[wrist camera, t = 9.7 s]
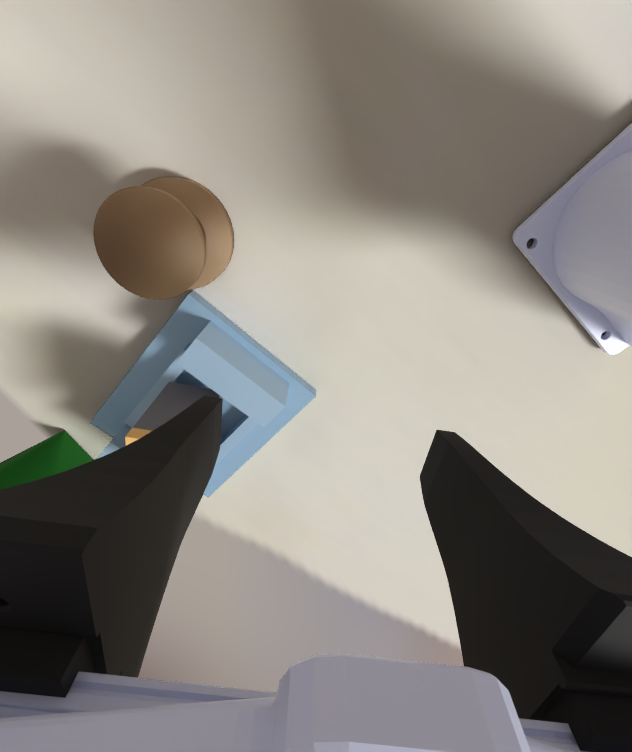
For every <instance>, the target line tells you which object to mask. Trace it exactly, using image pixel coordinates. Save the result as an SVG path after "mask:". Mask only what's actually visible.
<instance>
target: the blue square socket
mask: <svg viewBox="0 0 632 752" xmlns="http://www.w3.org/2000/svg"><path fill="white" fill-rule="evenodd" d="M168 382H174V383H180V384H186V385H192V386H198V387H204V388H210V389H212V390H213V391H214V392H216V393H217V394H219V395H220V396H221V397H222V398H223V404H222V422H221V440H220V450H219V454H218V457H217V460H216V464H215V467H214V470H213V473H212V476H211V478H210V480H209V482H208V485H207V487H206V489H205V491H204V493H203V494H204V495H205V496H207V497H209V496H210V495H211V494H213V493H214V492H215V491H216V490H217V489H218V488H219V487H220V486H221V485H222V484H223V483H224V482H225V481H226V480H227V479H228V478H230V477H231V476H232V475H233V474H234V473H235V472H236V471H237V470H238V469H239V468H240V467H241V466H242V465H243V464H244V463H245V462H247V461H248V460H249V459H250V458H251V457H252V456H253V455H254V454H255V453H256V452H257V451H258V450H259V449H260V448H261V447H262V446H264V445H265V444H266V443H267V442H268V441H269V440H270V439H271V438H272V437H273V436H274V435H275V434H276V433H277V432H278V431H279V430H281V429H282V428H283V427H284V426H285V425H286V424H287V423H288V422H289V421H290V420H291V419H292V418H293V417H294V416H295V415H296V414H298V413H299V412H300V411H301V410H302V409H303V408H304V407H305V406H306V405H307V404H308V403H309V402H310V401H311V400H312V399H313V398H315V397H316V390H315V389H314V388H313V387H312V386H311V385H309V384H308V383H307V382H306V381H304V380H303V379H302V378H301V377H299V376H298V375H297V374H296V373H295V372H293V371H292V370H291V369H290V368H288V367H287V366H286V365H285V364H283V363H282V362H281V361H280V360H279V359H277V358H276V357H275V356H274V355H272V354H271V353H270V352H269V351H267V350H266V349H265V348H264V347H263V346H261V345H260V344H259V343H258V342H256V341H255V340H254V339H253V338H251V337H250V336H249V335H248V334H247V333H245V332H244V331H243V330H242V329H240V328H239V327H238V326H237V325H235V324H234V323H233V322H232V321H231V320H229V319H228V318H227V317H226V316H224V315H223V314H222V313H221V312H219V311H218V310H217V309H216V308H215V307H213V306H212V305H211V304H210V303H208V302H207V301H206V300H205V299H203V298H202V297H201V296H200V295H199V294H197V293H196V292H195V291H194V290H193V291H192V292H191V293H189V294H188V296H187V297H186V298H185V300H184V301H183V302H182V303H181V305H180V306H179V307H178V309H177V310H176V311H175V313H174V314H173V315H172V316H171V318H170V319H169V320H168V322H167V323H166V324H165V326H164V327H163V328H162V329H161V331H160V332H159V333H158V335H157V336H156V337H155V339H154V340H153V341H152V342H151V344H150V345H149V346H148V348H147V349H146V350H145V352H144V353H143V354H142V355H141V357H140V358H139V359H138V361H137V362H136V363H135V365H134V366H133V367H132V368H131V370H130V371H129V372H128V374H127V375H126V376H125V378H124V379H123V380H122V381H121V383H120V384H119V385H118V387H117V388H116V389H115V391H114V392H113V393H112V394H111V396H110V397H109V398H108V400H107V401H106V402H105V403H104V405H103V406H102V407H101V409H100V410H99V411H98V413H97V414H96V415H95V416H94V418H93V419H92V420H91V422H90V423H91V424H93V425H94V426H96V427H98V428H99V429H101V430H102V431H104V432H105V433H107V434H109V435H110V436H112V437H113V440H112V441H111V442H110V443H109V444H108V446H107V447H106V448H105V449H104V451H103V452H102V453H101V454H100V455H99V457H98V458H100V457H103V456H105V455H107V454H110V453H112V452H114V451H116V450H118V449H120V448H122V447H124V446H126V443H125V436H126V435H127V434H128V433H129V431H130V430H131V429H132V428H133V426H134V425H135V424H136V422H137V421H138V420H139V419H140V417H141V416H142V415H143V414H144V412H145V411H146V410H147V409H148V407H149V406H150V405H151V404H152V402H153V401H154V400H155V399H156V397H157V396H158V395H159V394H160V392H161V391H162V390H163V389H164V387H165V386H166V385H167V384H168ZM98 458H97V459H98Z"/></svg>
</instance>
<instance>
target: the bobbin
mask: <svg viewBox="0 0 632 752" xmlns="http://www.w3.org/2000/svg"><path fill="white" fill-rule="evenodd" d="M94 242H95V246H96V250H97V253H98V256H99V258H100V260H101V262H102V264H103V266H104V267H105V269H106V270H107V272H108V273H109V274H110V276H111V277H112V278H113V279H114V280H115V281H116V282H117V283H118V284H120V285H121V286H122V287H123V288H125V289H126V290H128V291H130V292H132V293H133V294H136V295H138V296H140V297H144V298H147V299H154V300H163V299H169V298H173V297H176V296H178V295H180V294H182V293H184V292H185V291H186V290H190V289H196V288H200V287H203V286H205V285H207V284H209V283H211V282H212V281H213V280H215V279H216V278H217V277H218V276H219V275H220V274H221V273H222V272H223V271H224V270H225V268H226V267H227V265H228V264H229V261H230V259H231V256H232V253H233V248H234V232H233V227H232V223H231V220H230V218H229V215H228V213H227V211H226V209H225V208H224V206H223V204H222V203H221V202H220V201H219V199H218V198H217V197H216V196H215V195H214V194H213V193H212V192H211V191H209V190H208V189H207V188H205V187H204V186H202V185H201V184H199V183H197V182H195V181H192V180H189V179H185V178H179V177H162V178H156V179H153V180H150V181H148V182H146V183H145V184H143V185H142V186H140V187H130V188H125V189H122V190H119V191H117V192H115V193H114V194H112V195H111V196H109V197H108V198H107V199H106V200H105V201H104V202H103V204H102V205H101V207H100V208H99V210H98V213H97V215H96V218H95V223H94Z"/></svg>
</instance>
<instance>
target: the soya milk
mask: <svg viewBox="0 0 632 752" xmlns="http://www.w3.org/2000/svg"><path fill="white" fill-rule="evenodd" d="M90 461H93V459H92V458H91V457H90V456H89V455H88V454H87V453H86V452H85V451H84V450H83V449H82V448H81V447H80V446H79V445H78V444H77V442H76V441H75V440H74V439H73V438H72V437H71V436H70V435H69V434H68V433H67V432H66V431H65V430H64V431H62V432H60V433H58V434H56V435H54V436H52V437H50V438H48V439H46V440H44V441H43V442H41V443H39V444H37V445H35V446H33V447H31V448H29V449H27V450H25V451H23V452H21V453H19V454H17V455H15V456H13V457H11V458H9V459H7V460H5V461H3V462H1V463H0V490H1V489H5V488H9V487H13V486H17V485H21V484H25V483H28V482H32V481H35V480H39V479H42V478H45V477H48V476H52V475H55V474H58V473H61V472H64V471H67V470H70V469H72V468H75V467H78V466H80V465H83V464H85V463H88V462H90Z"/></svg>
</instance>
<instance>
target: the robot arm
mask: <svg viewBox="0 0 632 752" xmlns="http://www.w3.org/2000/svg"><path fill="white" fill-rule="evenodd" d="M531 238H533V240H534V242H533V245H532V246H531V247H529V248H527V246H526V245H527V242H528V240H529V239H531ZM513 242H514V244H515V245H516V246H517V247H518V248H519V250H520V251H521V252H522V253H523V255H524V256H525V257H526V258H527V259H528V261H529V262H530V263H531V264H532V265H533V267H534V268H535V269H536V270H537V272H538V273H539V274H540V275H541V276H542V278H543V279H544V280H545V281H546V282H547V284H548V285H549V286H550V287H551V289H552V290H553V291H554V292H555V293H556V295H557V296H558V297H559V298H560V299H561V301H562V302H563V303H564V304H565V305H566V307H567V308H568V309H569V310H570V312H571V313H572V314H573V315H574V316H575V318H576V319H577V320H578V321H579V322H580V324H581V325H582V326H583V327H584V329H585V330H586V331H587V332H588V333H589V335H590V336H591V337H592V338H593V339H594V341H595V342H596V343H597V344H598V346H599V347H600V348H601V349H602V350H603V351H604V352H605V353H607V354H609V355H614V354H617V353H619V352H621V351H622V350H623V349H625V348H626V347H628V346H629V345H631V346H632V123H631V124H630V125H629V126H627V127H626V128H625V129H624V130H623V131H622V132H621V133H620V134H619V135H618V136H617V137H616V138H614V139H613V140H612V141H611V142H610V143H609V144H608V145H607V146H606V147H605V148H604V149H602V150H601V151H600V152H599V153H598V154H597V155H596V156H595V157H594V158H593V159H592V160H590V161H589V162H588V163H587V164H586V165H585V166H584V167H583V168H582V169H581V170H580V171H578V172H577V173H576V174H575V175H574V176H573V177H572V178H571V179H570V180H569V181H568V182H567V183H565V184H564V185H563V186H562V187H561V188H560V189H559V190H558V191H557V192H556V193H555V194H553V195H552V196H551V197H550V198H549V199H548V200H547V201H546V202H545V203H544V204H543V205H541V206H540V207H539V208H538V209H537V210H536V211H535V212H534V213H533V214H532V215H531V216H530V217H528V218H527V219H526V220H525V221H524V222H523V223H522V224H521V225H520V226H519V227H518V228H517V229H516V230H515V231H514V233H513ZM605 331H606V334H605V335H604V336H603V337H601V334H602V333H603V332H605ZM222 404H223V398H216V397H209V396H203V397H202V398H200V399H199V400H197V401H196V402H194V403H193V404H192V405H190V406H189V407H187V408H186V409H185V410H183V411H182V412H180V413H179V414H178V415H176V416H175V417H173V418H172V419H170V420H169V421H167V422H166V423H164V424H163V425H161V426H160V427H158V428H156V429H155V430H153V431H151V432H150V433H148V434H146V435H145V436H143V437H141V438H140V439H138V440H136V441H134V442H132V443H130V444H128V445H126V446H124V447H122V448H120V449H118V450H116V451H114V452H112V453H110V454H107V455H105V456H103V457H100V458H98V459H95V460H93V461H90V462H88V463H85V464H83V465H80V466H78V467H75V468H72V469H70V470H67V471H64V472H61V473H58V474H55V475H52V476H48V477H45V478H42V479H39V480H35V481H32V482H28V483H25V484H21V485H17V486H13V487H9V488H5V489H1V490H0V752H632V557H630V556H628V555H626V554H624V553H622V552H620V551H618V550H616V549H615V548H613V547H611V546H609V545H607V544H606V543H604V542H602V541H600V540H598V539H597V538H595V537H593V536H591V535H590V534H588V533H586V532H585V531H583V530H581V529H580V528H578V527H576V526H575V525H573V524H571V523H570V522H568V521H567V520H565V519H564V518H562V517H561V516H559V515H558V514H556V513H555V512H553V511H552V510H550V509H549V508H547V507H546V506H544V505H543V504H542V503H540V502H539V501H537V500H536V499H535V498H533V497H532V496H531V495H529V494H528V493H527V492H525V491H524V490H523V489H522V488H520V487H519V486H518V485H516V484H515V483H514V482H513V481H511V480H510V479H509V478H508V477H507V476H505V475H504V474H503V473H502V472H501V471H499V470H498V469H497V468H496V467H495V466H494V465H492V464H491V463H490V462H489V461H488V460H487V459H486V458H484V457H483V456H482V455H481V454H480V453H479V452H478V451H476V450H475V449H474V448H473V447H472V446H471V445H470V444H468V443H467V442H466V441H465V440H464V439H463V438H461V437H460V436H459V435H457V434H456V433H455V432H449V431H442V430H437V431H436V433H435V436H434V439H433V442H432V444H431V447H430V450H429V452H428V455H427V458H426V461H425V463H424V466H423V469H422V472H421V474H420V481H421V488H422V494H423V499H424V504H425V508H426V511H427V514H428V517H429V521H430V524H431V527H432V530H433V533H434V536H435V539H436V542H437V545H438V549H439V552H440V555H441V558H442V561H443V564H444V567H445V571H446V575H447V578H448V582H449V587H450V592H451V597H452V601H453V606H454V611H455V616H456V622H457V627H458V633H459V638H460V644H461V650H462V656H463V662H464V666H456V665H447V664H438V663H429V662H420V661H412V660H403V659H394V658H384V657H376V656H367V655H358V654H349V653H326V654H316V655H313V656H310V657H308V658H305V659H303V660H300V661H297V662H296V663H294V664H293V665H292V666H291V667H290V668H289V670H288V671H287V672H286V674H285V675H284V676H283V677H282V679H281V680H280V683H279V687H278V691H277V692H267V691H258V690H248V689H239V688H229V687H219V686H211V685H201V684H192V683H182V682H172V681H164V680H154V679H144V678H138V675H139V672H140V668H141V665H142V662H143V658H144V655H145V652H146V648H147V645H148V642H149V639H150V636H151V632H152V629H153V626H154V622H155V620H156V616H157V613H158V610H159V607H160V604H161V601H162V598H163V594H164V592H165V588H166V586H167V582H168V579H169V576H170V573H171V571H172V567H173V565H174V562H175V559H176V556H177V553H178V550H179V547H180V545H181V542H182V540H183V537H184V535H185V532H186V530H187V528H188V526H189V524H190V522H191V519H192V517H193V515H194V513H195V511H196V509H197V506H198V504H199V502H200V500H201V498H202V496H203V493H204V491H205V489H206V487H207V485H208V482H209V480H210V478H211V476H212V473H213V470H214V467H215V464H216V460H217V457H218V454H219V450H220V440H221V422H222Z"/></svg>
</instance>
